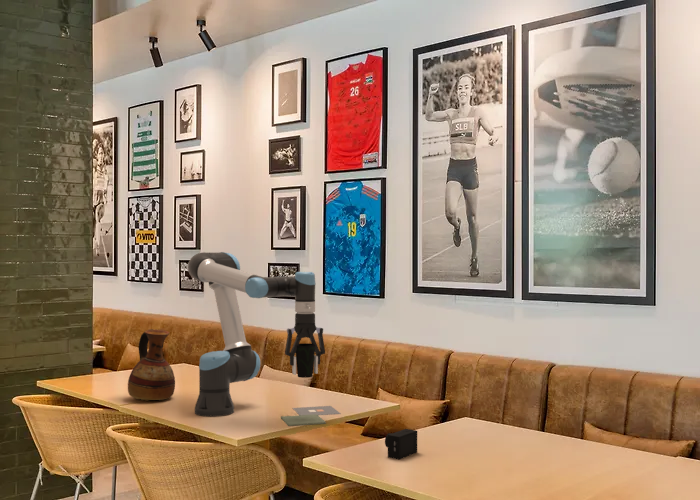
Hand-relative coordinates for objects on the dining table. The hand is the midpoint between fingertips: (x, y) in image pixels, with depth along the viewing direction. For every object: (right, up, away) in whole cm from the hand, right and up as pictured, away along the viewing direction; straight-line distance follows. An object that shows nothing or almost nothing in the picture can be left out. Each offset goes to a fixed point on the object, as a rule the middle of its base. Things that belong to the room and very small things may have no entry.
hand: (305, 373), depth 281 cm
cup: (0, -1, 0) cm, 1 cm away
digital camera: (+33, -17, -50) cm, 62 cm away
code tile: (+4, -17, +15) cm, 23 cm away
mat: (-1, -17, -3) cm, 17 cm away
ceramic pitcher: (-68, -18, +39) cm, 80 cm away
